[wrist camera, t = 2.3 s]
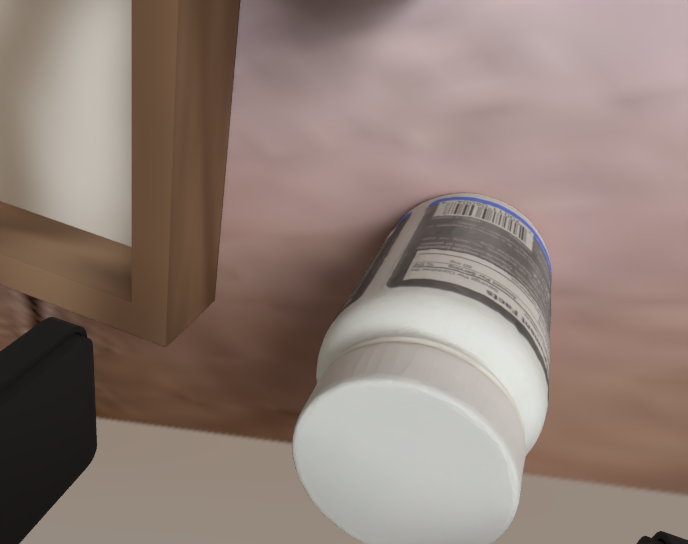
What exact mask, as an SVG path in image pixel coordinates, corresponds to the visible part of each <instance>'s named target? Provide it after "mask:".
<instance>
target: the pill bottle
mask: <svg viewBox="0 0 688 544" xmlns="http://www.w3.org/2000/svg"><path fill="white" fill-rule="evenodd" d="M551 281H552V275H551V262H550V258H549V253H548V251H547V248H546V245H545V243H544V241H543V239H542V237H541V236H540V234H539V233H538V231H537V230H536V228H535V227H534V226H533V224H532V223H531V222H530V221H529V220H528V219H527V218H526V217H525V216H524V215H522V214H521V213H520V212H519V211H518V210H516V209H515V208H514V207H512V206H510V205H508V204H506V203H504V202H502V201H499V200H497V199H494V198H491V197H488V196H484V195H479V194H473V193H459V194H450V195H444V196H440V197H436V198H433V199H431V200H428V201H426V202H423V203H422V204H420V205H418V206H417V207H415V208H413V209H412V210H410V211H409V212H408V213H407V214H406V215H405V216H404V217H403V218H402V219H401V220H400V221H399V222H398V223H397V224H396V226H395V227H394V228H393V230H392V231H391V232H390V234H389V235H388V237H387V238H386V240H385V242H384V243H383V245H382V246H381V248H380V250H379V252H378V253H377V254H376V256H375V257H374V259H373V261H372V262H371V264H370V265H369V267H368V269H367V270H366V272H365V273H364V274H363V276H362V278H361V279H360V281H359V282H358V284H357V285H356V287H355V289H354V290H353V292H352V294H351V295H350V297H349V298H348V300H347V301H346V302H345V304H344V305H343V307H342V308H341V310H340V311H339V313H338V314H337V316H336V317H335V319H334V321H333V322H332V324H331V325H330V327H329V329H328V331H327V333H326V334H325V337H324V339H323V342H322V345H321V348H320V352H319V356H318V361H317V372H316V378H317V385H316V386H315V388H314V390H313V392H312V394H311V396H310V397H309V399H308V401H307V403H306V404H305V406H304V408H303V409H302V411H301V413H300V415H299V417H298V420H297V423H296V426H295V429H294V434H293V441H292V450H293V459H294V463H295V468H296V471H297V474H298V477H299V479H300V481H301V483H302V485H303V487H304V489H305V491H306V492H307V494H308V495H309V497H310V499H311V500H312V501H313V502H314V504H315V505H316V506H317V507H318V509H319V510H320V511H321V512H322V513H323V514H324V515H325V516H326V517H327V518H329V520H331V521H332V522H333V523H334V524H335V525H336V526H338V527H339V528H340V529H342V530H343V531H344V532H346V533H347V534H349V535H350V536H352V537H354V538H355V539H357V540H359V541H360V542H362V543H364V544H491V543H493V542H494V541H495V540H497V539H498V538H499V537H500V536H501V535H502V534H503V533H504V532H505V531H506V530H507V528H508V527H509V525H510V523H511V522H512V520H513V519H514V516H515V513H516V510H517V508H518V504H519V498H520V493H521V483H522V474H523V468H524V462H525V456H526V455H527V454H528V452H529V451H530V450H531V449H532V447H533V446H534V444H535V443H536V441H537V439H538V437H539V435H540V432H541V430H542V428H543V424H544V421H545V417H546V414H547V409H548V400H549V383H548V382H549V350H550V344H549V338H550V336H549V333H550V323H551Z"/></svg>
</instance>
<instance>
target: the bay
mask: <svg viewBox="0 0 688 544" xmlns="http://www.w3.org/2000/svg"><path fill="white" fill-rule="evenodd" d="M239 9H240V0H0V284H1V285H4V286H6V287H9V288H11V289H14V290H17V291H19V292H22V293H24V294H27V295H30V296H32V297H35V298H38V299H40V300H43V301H45V302H48V303H51V304H53V305H56V306H59V307H61V308H64V309H66V310H69V311H72V312H74V313H77V314H79V315H82V316H85V317H87V318H90V319H93V320H95V321H98V322H100V323H103V324H106V325H108V326H111V327H113V328H116V329H119V330H121V331H124V332H127V333H129V334H132V335H134V336H137V337H140V338H142V339H145V340H148V341H150V342H153V343H155V344H158V345H161V346H163V347H166V346H168V345H169V344H170V343H171V342H172V341H173V340H174V339H175V338H176V337H177V336H178V335H179V334H180V333H181V332H182V331H183V330H184V329H185V328H186V327H187V326H188V325H189V324H190V323H192V322H193V321H194V320H195V319H196V318H197V317H198V316H199V315H200V314H201V313H202V312H203V311H204V310H205V309H206V308H207V307H208V306H209V305H210V304H211V303H212V302H213V301H214V300H215V289H216V277H217V265H218V254H219V242H220V230H221V219H222V207H223V195H224V184H225V172H226V160H227V149H228V137H229V125H230V114H231V102H232V90H233V79H234V67H235V55H236V44H237V32H238V20H239Z"/></svg>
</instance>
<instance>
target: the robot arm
mask: <svg viewBox="0 0 688 544" xmlns="http://www.w3.org/2000/svg"><path fill="white" fill-rule="evenodd" d="M96 449H97V435H96V410H95V385H94V360H93V344H92V341H91V339H89V338H87V333H86V331H85V329H84V328H83V327H80V326H77V325H74V324H72V323H69V322H66V321H63V320H60V319H57V318H55V317H50V318H47V319H45V320H43V321H42V322H40V323H39V324H38V325H36V326H35V327H33V328H32V329H31V330H29V331H28V332H27V333H25V334H24V335H22V336H21V337H20V338H18V339H17V340H16V341H14V342H13V343H11V344H10V345H9V346H7V347H6V348H5V349H3V350H2V351H1V352H0V544H19V543H20V542H21V541H22V540H23V539H24V538H25V536H26V535H27V534H28V533H29V532H30V531H31V530H32V529H33V527H34V526H35V525H36V524H37V523H38V522H39V521H40V520H41V518H42V517H43V516H44V515H45V514H46V513H47V511H49V509H50V508H51V507H52V506H53V505H54V504H55V503H56V502H57V500H58V499H59V498H60V497H61V496H62V495H63V494H64V493H65V492H66V490H67V489H68V488H69V487H70V486H71V485H72V484H73V483H74V481H75V480H76V479H77V478H78V477H79V476H80V475H81V474H82V472H83V471H84V470H85V469H86V468H87V467H88V465H89V464H90V463H91V461H92V459H93V457H94V455H95V452H96ZM637 544H688V540H685V539H682V538H680V537H677V536H674V535H671V534H668V533H665V532H662V531H660V532H657V533H656V534H655V535H654V536H653V537H652V538H650V537H647V536H643V537H642V538H641V539H640V540H639V541H638V543H637Z"/></svg>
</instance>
